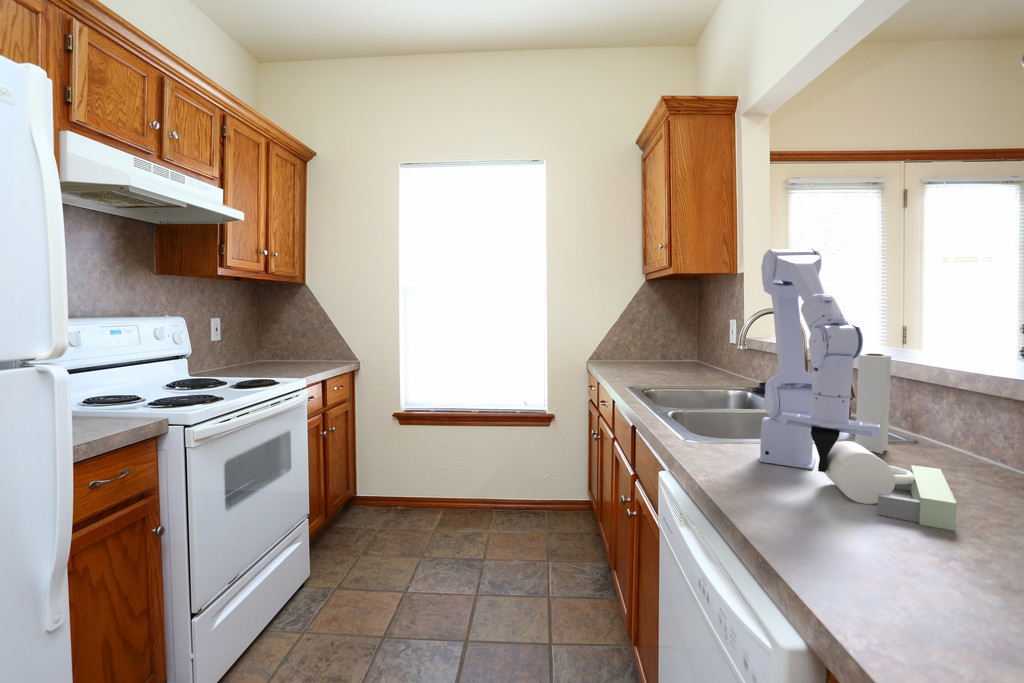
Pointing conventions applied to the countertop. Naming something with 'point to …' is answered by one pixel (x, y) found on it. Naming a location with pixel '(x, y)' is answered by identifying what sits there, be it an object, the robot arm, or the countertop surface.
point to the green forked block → (922, 500)
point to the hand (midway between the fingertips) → (824, 470)
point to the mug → (863, 473)
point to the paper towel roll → (873, 398)
